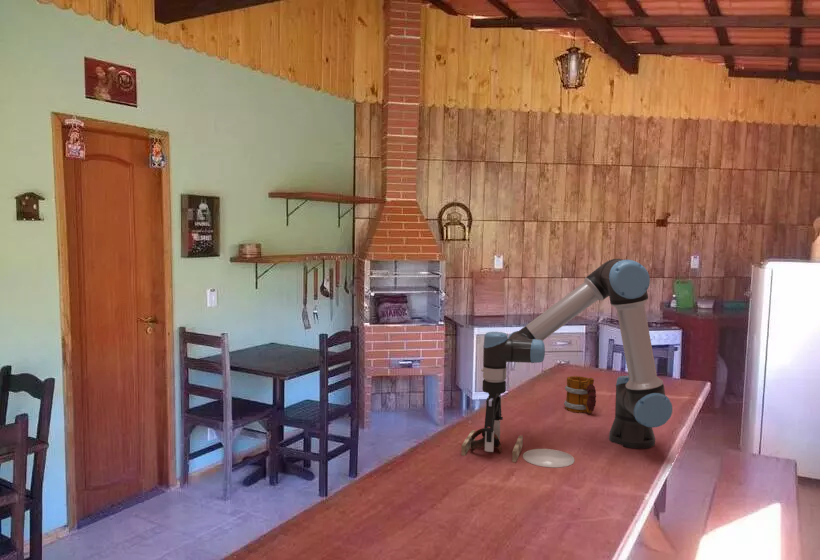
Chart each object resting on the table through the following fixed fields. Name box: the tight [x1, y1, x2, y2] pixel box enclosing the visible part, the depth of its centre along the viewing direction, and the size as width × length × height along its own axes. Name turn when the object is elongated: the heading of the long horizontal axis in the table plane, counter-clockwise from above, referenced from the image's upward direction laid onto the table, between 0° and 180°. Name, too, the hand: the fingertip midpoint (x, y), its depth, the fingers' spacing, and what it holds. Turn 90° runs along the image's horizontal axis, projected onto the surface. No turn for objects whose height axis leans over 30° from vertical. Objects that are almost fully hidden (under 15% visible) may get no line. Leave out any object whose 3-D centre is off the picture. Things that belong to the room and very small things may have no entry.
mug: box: [563, 375, 597, 415], centre depth 253 cm, size 11×16×15 cm, turn 18°
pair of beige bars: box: [461, 429, 524, 463], centre depth 206 cm, size 16×17×4 cm
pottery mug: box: [470, 427, 503, 454], centre depth 206 cm, size 12×9×8 cm
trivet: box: [522, 448, 575, 469], centre depth 200 cm, size 16×16×1 cm
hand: (492, 445), depth 206 cm, fingers closed on pottery mug, 12 cm apart
